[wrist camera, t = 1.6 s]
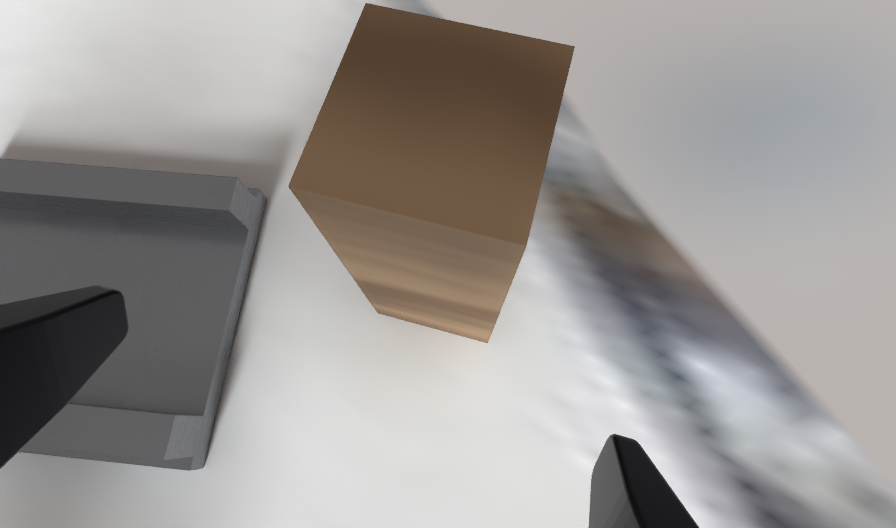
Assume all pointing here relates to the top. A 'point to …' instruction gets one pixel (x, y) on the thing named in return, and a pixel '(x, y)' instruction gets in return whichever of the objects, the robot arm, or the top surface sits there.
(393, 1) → the top surface
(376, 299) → the walnut block
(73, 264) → the bottom track
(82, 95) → the top surface
